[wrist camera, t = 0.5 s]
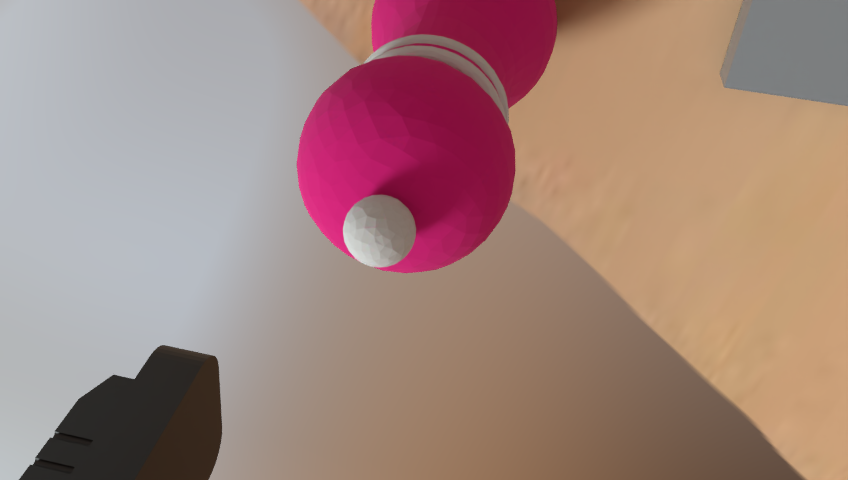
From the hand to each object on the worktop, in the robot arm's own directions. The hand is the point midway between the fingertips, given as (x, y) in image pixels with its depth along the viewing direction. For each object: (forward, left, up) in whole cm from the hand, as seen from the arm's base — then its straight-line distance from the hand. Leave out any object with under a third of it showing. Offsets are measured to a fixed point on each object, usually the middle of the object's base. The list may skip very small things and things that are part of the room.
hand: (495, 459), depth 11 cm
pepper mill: (+3, -3, -28) cm, 28 cm away
